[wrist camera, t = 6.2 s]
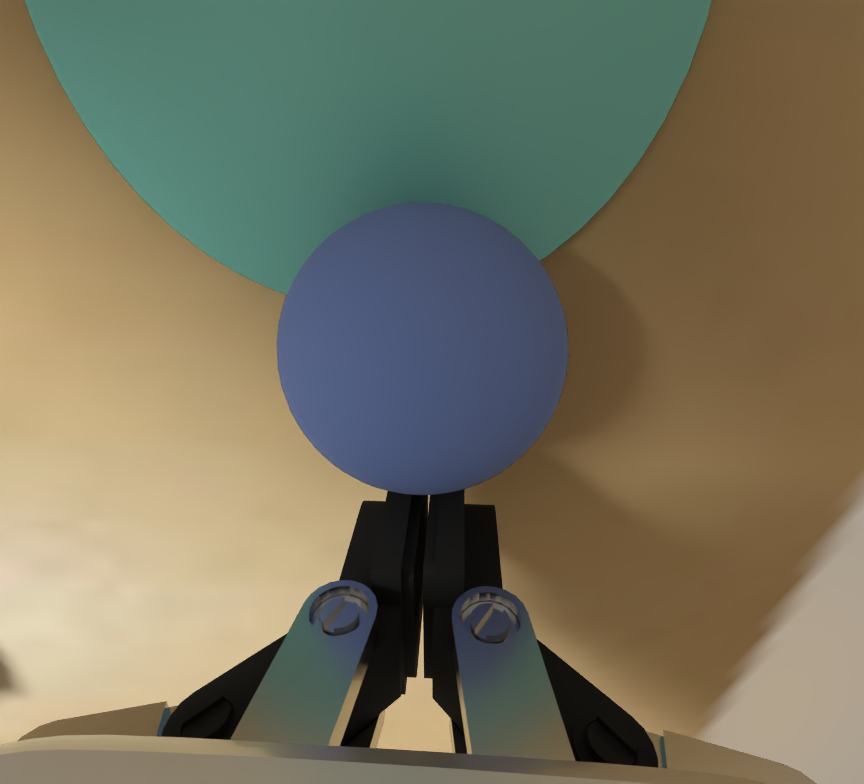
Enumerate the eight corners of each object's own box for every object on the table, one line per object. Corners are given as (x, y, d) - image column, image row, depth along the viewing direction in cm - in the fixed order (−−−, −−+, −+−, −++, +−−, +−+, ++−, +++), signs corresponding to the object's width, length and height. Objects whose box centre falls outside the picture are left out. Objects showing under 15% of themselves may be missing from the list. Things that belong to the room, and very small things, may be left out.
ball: (256, 444, 11) (215, 190, 9) (445, 387, 14) (455, 184, 12) (372, 614, 8) (359, 249, 5) (600, 489, 10) (666, 217, 8)
